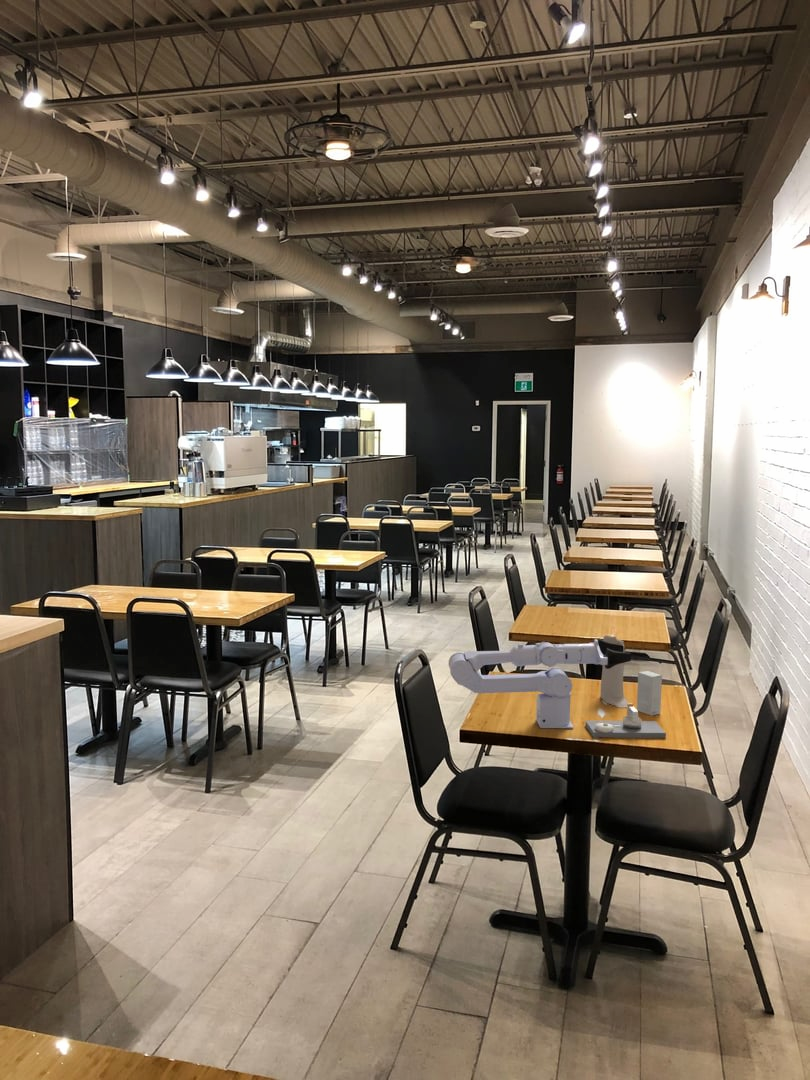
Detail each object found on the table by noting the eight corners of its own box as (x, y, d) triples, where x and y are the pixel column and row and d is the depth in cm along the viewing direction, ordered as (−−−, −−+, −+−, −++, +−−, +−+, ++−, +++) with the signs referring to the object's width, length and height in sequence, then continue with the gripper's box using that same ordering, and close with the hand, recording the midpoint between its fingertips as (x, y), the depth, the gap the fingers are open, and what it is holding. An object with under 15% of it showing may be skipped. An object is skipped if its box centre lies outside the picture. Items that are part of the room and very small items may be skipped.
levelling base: (593, 737, 233) (593, 726, 233) (585, 725, 243) (585, 714, 243) (665, 738, 234) (666, 726, 233) (654, 726, 244) (655, 715, 243)
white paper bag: (613, 708, 260) (616, 644, 258) (596, 695, 274) (599, 634, 271) (636, 707, 261) (638, 643, 259) (618, 694, 275) (620, 633, 273)
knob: (644, 729, 235) (644, 709, 235) (626, 729, 235) (626, 709, 235) (637, 722, 241) (638, 703, 241) (620, 722, 241) (621, 703, 241)
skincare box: (661, 714, 255) (662, 675, 254) (650, 716, 253) (652, 676, 252) (646, 708, 260) (647, 670, 259) (635, 710, 258) (637, 672, 257)
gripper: (585, 647, 234) (634, 647, 234) (574, 633, 248) (620, 632, 249) (584, 672, 235) (633, 671, 236) (573, 656, 250) (619, 655, 250)
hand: (626, 653), depth 242 cm, fingers open, 7 cm apart
